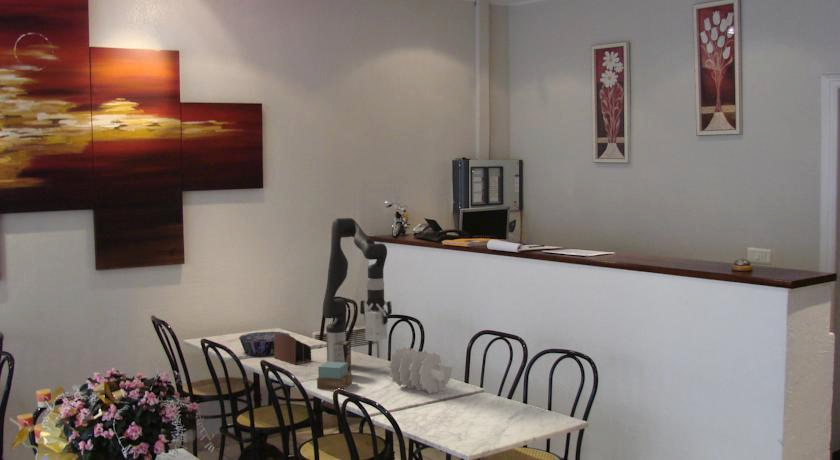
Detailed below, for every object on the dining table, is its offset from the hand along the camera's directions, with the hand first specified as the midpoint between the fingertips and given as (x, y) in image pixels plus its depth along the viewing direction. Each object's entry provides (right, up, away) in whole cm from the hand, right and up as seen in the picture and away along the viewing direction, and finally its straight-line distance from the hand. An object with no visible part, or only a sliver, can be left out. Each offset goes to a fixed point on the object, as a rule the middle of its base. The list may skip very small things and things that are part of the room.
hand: (376, 323), depth 383 cm
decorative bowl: (-63, -23, +72) cm, 99 cm away
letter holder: (-45, -24, +51) cm, 72 cm away
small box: (0, -7, +1) cm, 7 cm away
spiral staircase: (+20, -28, -7) cm, 35 cm away
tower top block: (-19, -23, 0) cm, 30 cm away
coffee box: (-17, -27, +17) cm, 36 cm away
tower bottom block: (-19, -28, 0) cm, 34 cm away
